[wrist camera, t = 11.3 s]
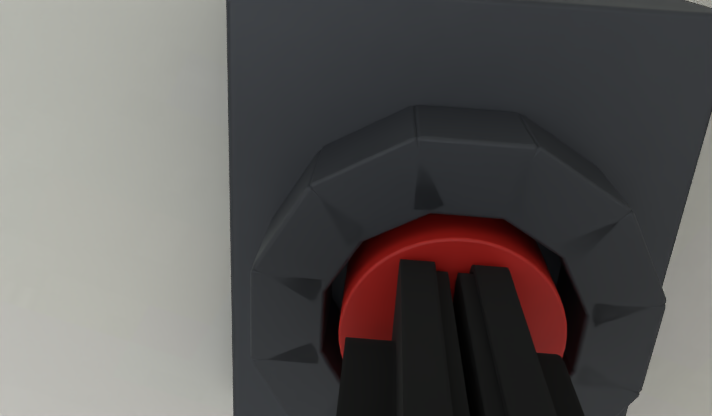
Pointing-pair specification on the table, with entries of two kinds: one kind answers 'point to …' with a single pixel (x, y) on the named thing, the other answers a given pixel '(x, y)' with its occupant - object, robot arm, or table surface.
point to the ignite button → (450, 274)
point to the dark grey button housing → (457, 165)
